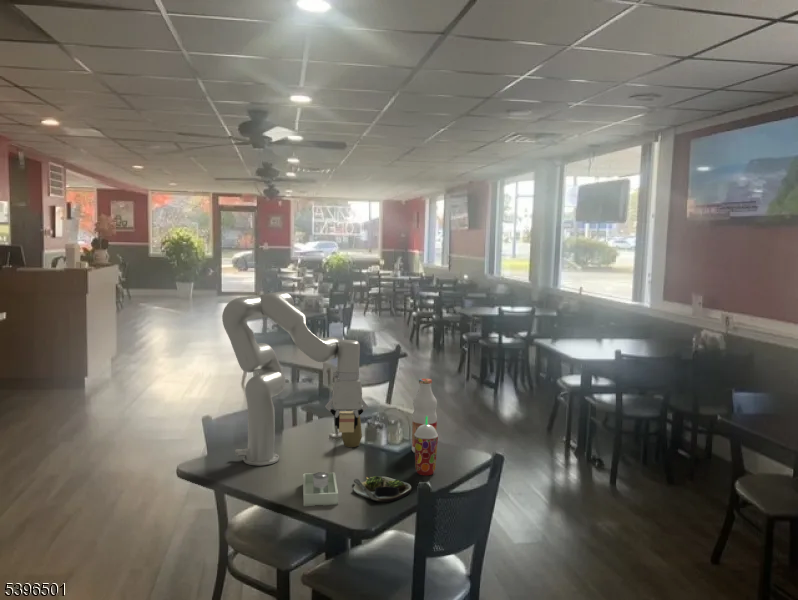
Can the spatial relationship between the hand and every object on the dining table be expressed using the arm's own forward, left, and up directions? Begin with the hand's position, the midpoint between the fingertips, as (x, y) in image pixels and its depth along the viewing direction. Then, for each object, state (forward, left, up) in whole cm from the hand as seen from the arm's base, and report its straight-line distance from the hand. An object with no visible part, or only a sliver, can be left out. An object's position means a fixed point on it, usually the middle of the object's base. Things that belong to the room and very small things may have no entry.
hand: (346, 427), depth 223 cm
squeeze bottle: (+4, +29, -16) cm, 33 cm away
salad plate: (+10, -19, -16) cm, 27 cm away
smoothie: (+27, -4, -16) cm, 32 cm away
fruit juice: (+31, +19, -16) cm, 40 cm away
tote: (-10, -19, -16) cm, 27 cm away
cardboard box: (0, 0, -1) cm, 1 cm away
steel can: (-9, -23, -15) cm, 29 cm away
